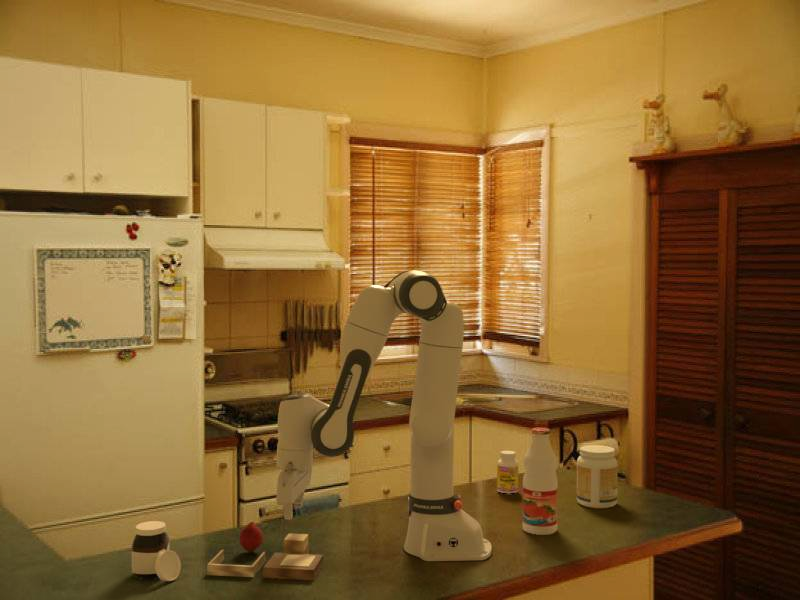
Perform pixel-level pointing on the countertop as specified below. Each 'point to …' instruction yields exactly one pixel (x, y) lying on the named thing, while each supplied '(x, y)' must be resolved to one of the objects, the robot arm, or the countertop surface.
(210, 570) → the wooden tray
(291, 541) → the oak block
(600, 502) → the supplement tub
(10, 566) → the countertop surface
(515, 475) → the supplement bottle
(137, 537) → the spread jar
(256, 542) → the onion
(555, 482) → the fruit juice
